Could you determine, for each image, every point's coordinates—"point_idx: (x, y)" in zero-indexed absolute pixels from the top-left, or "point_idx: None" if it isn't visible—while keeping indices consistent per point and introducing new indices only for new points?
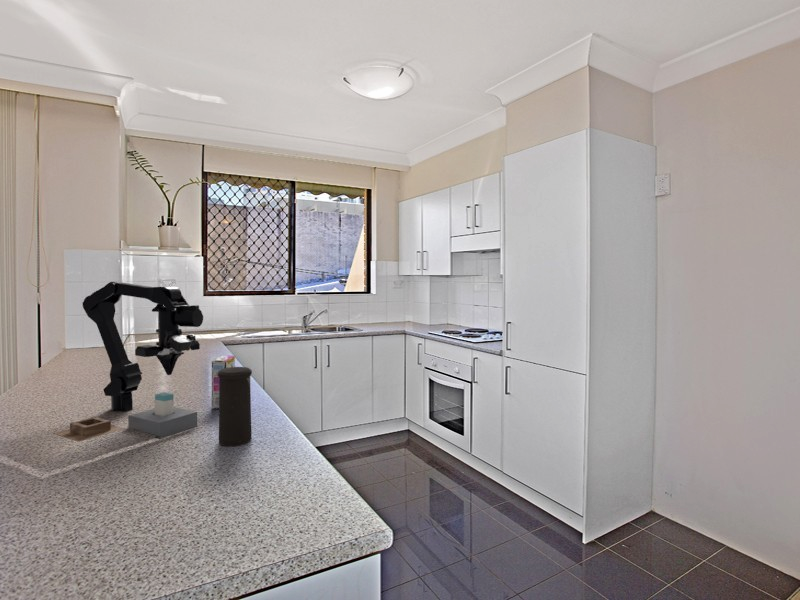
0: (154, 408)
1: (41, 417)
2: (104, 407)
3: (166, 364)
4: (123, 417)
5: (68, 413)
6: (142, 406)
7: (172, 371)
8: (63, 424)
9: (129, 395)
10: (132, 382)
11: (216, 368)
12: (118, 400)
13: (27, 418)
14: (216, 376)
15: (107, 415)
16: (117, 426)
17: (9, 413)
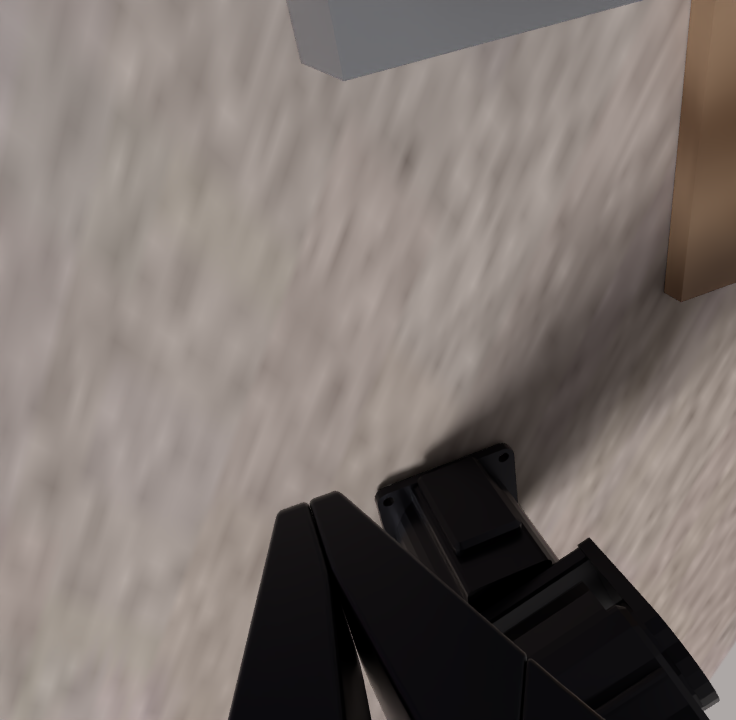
0: (511, 29)
1: (696, 584)
2: None
3: (575, 709)
4: (501, 384)
5: None
6: None
7: (265, 567)
8: (728, 431)
9: (484, 569)
10: (548, 653)
11: None
12: (538, 539)
13: (724, 592)
14: None
15: (533, 480)
16: (707, 80)
17: (708, 674)
